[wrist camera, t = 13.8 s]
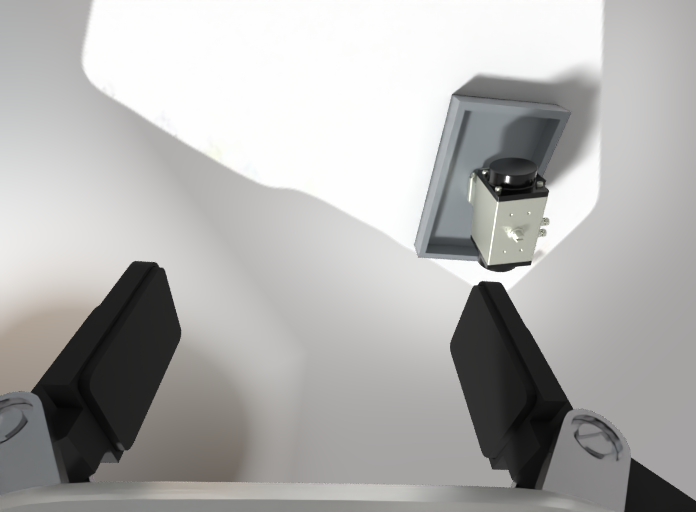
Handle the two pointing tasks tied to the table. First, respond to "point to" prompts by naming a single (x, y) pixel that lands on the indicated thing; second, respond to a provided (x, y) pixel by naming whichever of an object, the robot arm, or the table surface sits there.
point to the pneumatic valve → (507, 212)
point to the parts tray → (480, 163)
